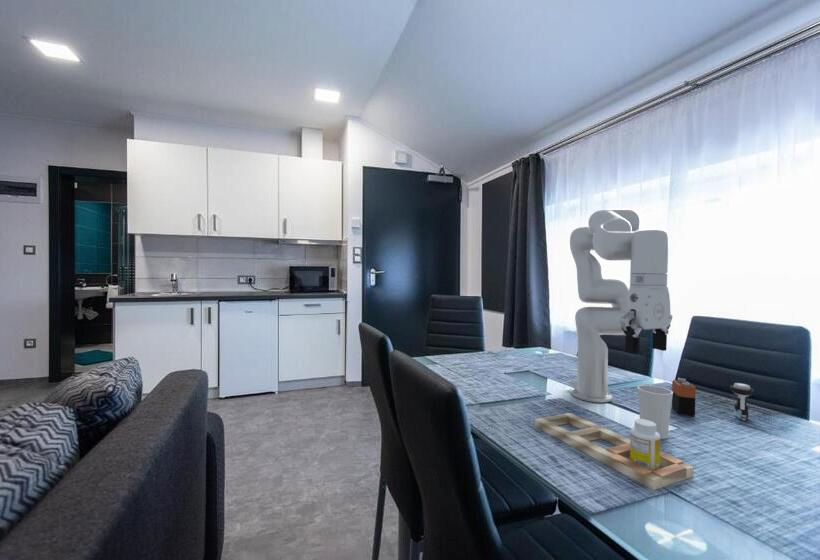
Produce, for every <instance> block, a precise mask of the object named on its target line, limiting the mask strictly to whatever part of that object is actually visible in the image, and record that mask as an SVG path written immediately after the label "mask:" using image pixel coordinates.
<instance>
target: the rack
mask: <svg viewBox="0 0 820 560" xmlns="http://www.w3.org/2000/svg"><path fill="white" fill-rule="evenodd" d="M566 424H569V425H571V426H573V427H575V428H578V429H577V430H573V431H569V430H567V429H566V428H563V427H561V426H562V425H566ZM534 427H536V428H538V429H539V430H541V431H543V432H544V433H546V434H549V435H551V436H552V437H555V438H556V439H558V440H560V441H561V442H563V443H565V444H567V445H569V446H571V447H573V448H574V449H577V450H578V451H579V452H582V453H584V454H586V455H588V456H590V457H591V458H593V459H595V460H597V461H598V462H600V463H602V464H605V465H606V466H608V467H609V468H611V469H613V470H615V471H617V472H619V473H621V474H623V475H624V476H626V477H628V478H630V479H632V480H634V481H635V482H637V483H639V484H641V485H643V486H645V487H647V488H648V489H650V490H652V491H655V490H658V489H662V488H665V487H667V486H670V485H673V484H676V483H678V482H682V481H684V480H688V479H690V478H693V477H694V476H695V475H694V471H695V470H694V469H695V467H694V466H692V465H690V464H687V463H685V462H684V460H682V459H679V458H678V457H674V456H673V455H670V454H667V453H665V452H663V451H661V450H660V469H657V470H654V471H651V470H649V469H647V468H645V467H643V466H641V465H639V464H637V463H634V462H632V461H630V438H629V437H626V436H624V435H621V434H619V433H617V432H615V431H612V430H609V429H608V428H605V427H603V426H601V425H598V424H597V423H594V422H592V421H589V420H587V419H585V418H582V417H580V416H578V415H575V414H574V413H572V412H565V413H559V414H555V415H550V416H544V417H538V418H535V419H534ZM599 439H600V440H604V441H605V442H607V443H610V444H611V445H614V446H612V447H611V446H610V447H607V448H603V447H601V446H599V445H597V444H596V443H593V442H591V441H595V440H596V441H597V440H599Z"/></svg>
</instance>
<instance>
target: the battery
mask: <svg viewBox="0 0 820 560" xmlns="http://www.w3.org/2000/svg"><path fill="white" fill-rule="evenodd" d="M671 384H672V385H671V389H672V390H671V391H672V392H673V397H672V404H671V409H673V410H675V412H676V413H677V414H678V415H683V416H691V417H695V415H696V390H697V389H696V386H695V385H693V384H692V383H690V382H689V381H687V379H686V378H682V377H678V378H677V379H673V380H672V381H671Z"/></svg>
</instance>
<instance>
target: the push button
mask: <svg viewBox="0 0 820 560" xmlns="http://www.w3.org/2000/svg"><path fill="white" fill-rule="evenodd" d="M729 388H730V392H732V393H733V394H734V395H737V396H736V397H737V398H736V403H735V404H734V411H733V412H734V413H733V414H734V416H735V417H737V418H739V419H738V420H740V421H741V420H742V421H747V419H749V406H748V405H747V398H746V397H750V396H753V395H754V394H753V393H754V392H755V389H754V388H751V385H749V384H746V383H741V382H735V383H734V384H733V385H730V386H729Z"/></svg>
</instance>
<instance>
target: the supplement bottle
mask: <svg viewBox="0 0 820 560" xmlns="http://www.w3.org/2000/svg"><path fill="white" fill-rule="evenodd" d="M629 437H630V438H629V439H630V461H632V462H634V463H637V464H639V465H641V466H643V467H645V468H647V469H649V470H651V471H654V470H657V469H660V468H661V467H660V451H661V439H660V434H659V433H658V432H656V424H655V423H654V422H652V421H649V420H644V419H640V418H637V419H635V420H634V427H632V428H631V429H630V436H629Z"/></svg>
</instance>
